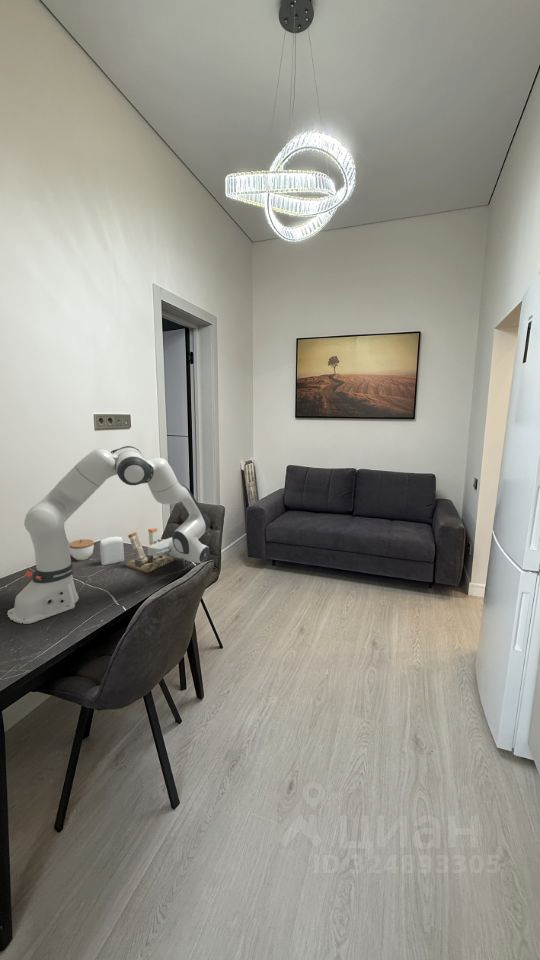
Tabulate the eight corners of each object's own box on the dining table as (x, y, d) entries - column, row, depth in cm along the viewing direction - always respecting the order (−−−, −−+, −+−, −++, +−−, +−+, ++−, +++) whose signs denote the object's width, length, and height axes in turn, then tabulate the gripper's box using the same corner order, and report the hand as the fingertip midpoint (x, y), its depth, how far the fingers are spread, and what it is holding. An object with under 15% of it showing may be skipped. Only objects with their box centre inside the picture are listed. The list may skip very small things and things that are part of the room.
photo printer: (102, 566, 175) (100, 540, 172) (100, 563, 178) (98, 537, 176) (125, 561, 180) (123, 536, 178) (123, 558, 184) (121, 534, 182)
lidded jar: (75, 554, 189) (73, 536, 187) (97, 553, 190) (96, 535, 188) (66, 562, 178) (64, 543, 177) (90, 561, 179) (88, 543, 178)
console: (147, 572, 168) (145, 539, 165) (125, 566, 175) (123, 533, 172) (173, 561, 182) (172, 529, 179) (152, 555, 188) (151, 525, 186)
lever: (153, 560, 177) (151, 530, 174) (149, 559, 178) (147, 529, 176) (159, 557, 180) (157, 527, 178) (155, 556, 181) (153, 527, 179)
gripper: (160, 561, 163) (138, 554, 170) (193, 547, 180) (172, 541, 187) (160, 547, 161) (138, 541, 168) (193, 534, 179) (172, 529, 186)
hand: (156, 541), depth 178 cm, fingers closed, pressing on lever
